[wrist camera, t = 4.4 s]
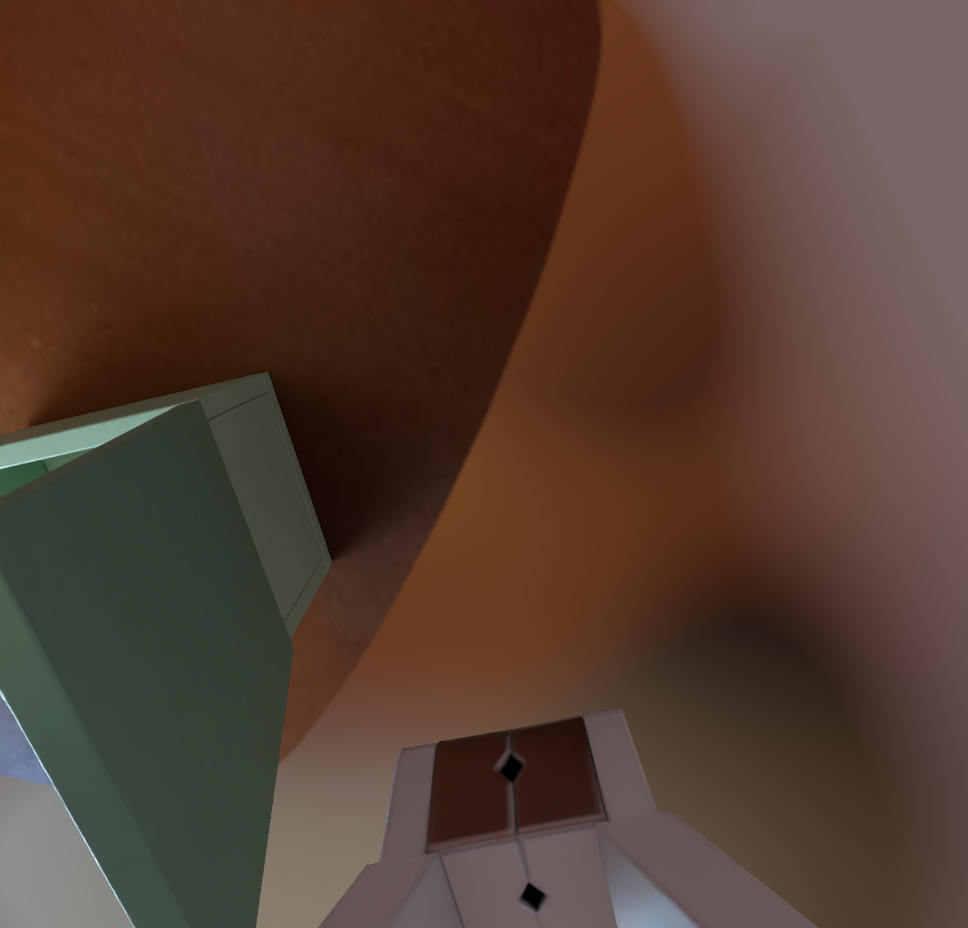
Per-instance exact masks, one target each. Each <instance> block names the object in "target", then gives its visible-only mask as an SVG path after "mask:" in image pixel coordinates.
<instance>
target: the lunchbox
mask: <svg viewBox="0 0 968 928" xmlns="http://www.w3.org/2000/svg"><path fill="white" fill-rule="evenodd" d="M195 400H200V401H201V404H202V406H203V409H204V412H205V414H206V417H207V420H208V422H209V425H210V428H211V430H212V433H213V435H214V438H215V441H216V443H217V446H218V449H219V451H220V454H221V457H222V459H223V462H224V465H225V467H226V470H227V473H228V475H229V478H230V481H231V483H232V486H233V489H234V491H235V494H236V496H237V499H238V502H239V504H240V507H241V510H242V512H243V515H244V518H245V520H246V523H247V526H248V528H249V531H250V534H251V536H252V539H253V542H254V544H255V547H256V549H257V552H258V555H259V557H260V560H261V563H262V565H263V568H264V571H265V573H266V576H267V579H268V581H269V584H270V587H271V589H272V592H273V595H274V597H275V600H276V603H277V605H278V608H279V610H280V613H281V616H282V618H283V621H284V624H285V626H286V629H287V632H288V634H289V637H290V639H291V637H292V636H293V634H294V632H295V630H296V628H297V626H298V625H299V623H300V621H301V619H302V617H303V615H304V614H305V612H306V610H307V608H308V606H309V604H310V603H311V601H312V599H313V597H314V595H315V593H316V591H317V590H318V588H319V586H320V584H321V582H322V580H323V579H324V577H325V575H326V573H327V571H328V569H329V568H330V566H331V564H332V560H331V557H330V554H329V551H328V548H327V545H326V542H325V539H324V536H323V533H322V530H321V527H320V525H319V522H318V519H317V516H316V513H315V510H314V507H313V504H312V501H311V498H310V495H309V492H308V489H307V486H306V483H305V480H304V477H303V474H302V471H301V468H300V465H299V462H298V459H297V456H296V453H295V450H294V447H293V444H292V441H291V438H290V435H289V433H288V430H287V427H286V424H285V421H284V418H283V415H282V412H281V409H280V406H279V403H278V400H277V397H276V394H275V391H274V388H273V385H272V382H271V379H270V376H269V373H268V372H263V373H258V374H254V375H250V376H246V377H241V378H237V379H233V380H228V381H224V382H220V383H216V384H211V385H207V386H203V387H199V388H194V389H190V390H186V391H182V392H177V393H173V394H169V395H164V396H160V397H156V398H152V399H147V400H143V401H139V402H135V403H130V404H126V405H122V406H117V407H113V408H109V409H105V410H100V411H96V412H92V413H88V414H83V415H79V416H75V417H70V418H66V419H62V420H58V421H53V422H49V423H45V424H41V425H36V426H32V427H28V428H24V429H21V430H17V431H15V432H11V433H8V434H4V435H1V436H0V497H2V496H4V495H6V494H8V493H10V492H12V491H14V490H15V489H17V488H19V487H21V486H23V485H25V484H27V483H29V482H31V481H33V480H35V479H37V478H39V477H41V476H43V475H44V474H46V473H48V472H50V471H52V470H54V469H56V468H58V467H60V466H62V465H64V464H66V463H68V462H70V461H71V460H73V459H75V458H77V457H79V456H81V455H83V454H85V453H87V452H89V451H91V450H93V449H95V448H97V447H98V446H100V445H102V444H104V443H106V442H108V441H110V440H112V439H114V438H116V437H118V436H120V435H122V434H124V433H125V432H127V431H129V430H131V429H133V428H135V427H137V426H139V425H141V424H143V423H145V422H147V421H149V420H151V419H152V418H154V417H156V416H158V415H160V414H162V413H164V412H166V411H168V410H170V409H172V408H174V407H176V406H178V405H179V404H183V403H187V402H191V401H195ZM0 695H1V693H0ZM1 696H2V695H1ZM2 698H3V696H2ZM3 700H4V698H3ZM4 701H5V700H4Z"/></svg>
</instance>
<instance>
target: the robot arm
mask: <svg viewBox="0 0 968 928" xmlns="http://www.w3.org/2000/svg"><path fill="white" fill-rule="evenodd" d="M318 928H818V927H816V926H815V925H814V924H813V923H811V922H810V921H809V920H808V919H806V918H805V917H804V916H802V915H801V914H800V913H799V912H797V911H796V910H795V909H794V908H792V907H791V906H790V905H789V904H787V903H786V902H785V901H784V900H782V899H781V898H780V897H779V896H777V895H776V894H775V893H774V892H772V891H771V890H770V889H769V888H767V887H766V886H765V885H764V884H762V883H761V882H760V881H758V880H757V879H756V878H755V877H753V876H752V875H751V874H750V873H748V872H747V871H746V870H745V869H743V868H742V867H741V866H740V865H738V864H737V863H736V862H734V861H733V860H732V859H731V858H730V857H728V856H727V855H726V854H724V853H723V852H722V851H721V850H719V849H718V848H717V847H716V846H714V845H713V844H712V843H711V842H709V841H708V840H707V839H706V838H704V837H703V836H702V835H701V834H699V833H698V832H697V831H695V830H694V829H693V828H692V827H690V826H689V825H688V824H687V823H685V822H684V821H683V820H682V819H680V818H679V817H678V816H677V815H675V814H674V813H673V812H672V811H670V810H668V811H662V812H657V810H656V807H655V804H654V801H653V798H652V796H651V792H650V789H649V787H648V784H647V781H646V778H645V775H644V772H643V769H642V766H641V763H640V761H639V758H638V755H637V752H636V749H635V746H634V743H633V740H632V738H631V734H630V732H629V729H628V726H627V723H626V720H625V717H624V714H623V712H622V710H621V709H620V708H619V707H616V708H611V709H607V710H602V711H597V712H592V713H588V714H583V719H582V717H581V716H577V717H572V718H567V719H562V720H557V721H552V722H547V723H542V724H537V725H532V726H527V727H522V728H517V729H512V730H506V731H500V732H495V733H488V734H483V735H477V736H470V737H464V738H458V739H453V740H446V741H440V742H439V743H433V744H427V745H421V746H415V747H409V748H403V749H402V751H401V752H400V754H399V756H398V758H397V763H396V768H395V773H394V779H393V784H392V791H391V797H390V801H389V807H388V813H387V818H386V824H385V829H384V835H383V841H382V846H381V852H380V858H379V863H375V864H370V865H366V867H365V868H364V869H363V871H362V872H361V873H360V874H359V876H358V877H357V878H356V880H355V881H354V882H353V884H352V885H351V886H350V888H349V889H348V890H347V891H346V893H345V894H344V895H343V896H342V898H341V899H340V900H339V902H338V903H337V904H336V905H335V907H334V908H333V909H332V911H331V912H330V913H329V915H328V916H327V917H326V918H325V920H324V921H323V922H322V924H321V925H320V926H319V927H318Z"/></svg>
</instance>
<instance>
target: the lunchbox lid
mask: <svg viewBox="0 0 968 928" xmlns="http://www.w3.org/2000/svg"><path fill="white" fill-rule="evenodd" d="M293 650H294V648H293V645H292V642H291V640H290V637H289V634H288V632H287V629H286V626H285V624H284V621H283V618H282V616H281V613H280V610H279V608H278V605H277V603H276V600H275V597H274V595H273V592H272V589H271V587H270V584H269V581H268V579H267V576H266V573H265V571H264V568H263V565H262V563H261V560H260V557H259V555H258V552H257V549H256V547H255V544H254V542H253V539H252V536H251V534H250V531H249V528H248V526H247V523H246V520H245V518H244V515H243V512H242V510H241V507H240V504H239V502H238V499H237V496H236V494H235V491H234V489H233V486H232V483H231V481H230V478H229V475H228V473H227V470H226V467H225V465H224V462H223V459H222V457H221V454H220V451H219V449H218V446H217V443H216V441H215V438H214V435H213V433H212V430H211V428H210V425H209V422H208V420H207V417H206V414H205V412H204V409H203V406H202V404H201V401H200V400H195V401H191V402H187V403H183V404H179V405H178V406H176V407H174V408H172V409H170V410H168V411H166V412H164V413H162V414H160V415H158V416H156V417H154V418H152V419H151V420H149V421H147V422H145V423H143V424H141V425H139V426H137V427H135V428H133V429H131V430H129V431H127V432H125V433H124V434H122V435H120V436H118V437H116V438H114V439H112V440H110V441H108V442H106V443H104V444H102V445H100V446H98V447H97V448H95V449H93V450H91V451H89V452H87V453H85V454H83V455H81V456H79V457H77V458H75V459H73V460H71V461H70V462H68V463H66V464H64V465H62V466H60V467H58V468H56V469H54V470H52V471H50V472H48V473H46V474H44V475H43V476H41V477H39V478H37V479H35V480H33V481H31V482H29V483H27V484H25V485H23V486H21V487H19V488H17V489H15V490H14V491H12V492H10V493H8V494H6V495H4V496H2V497H0V693H1V695H2V696H3V698H4V700H5V702H6V703H7V705H8V707H9V709H10V710H11V712H12V714H13V716H14V718H15V719H16V721H17V723H18V725H19V726H20V728H21V730H22V732H23V733H24V735H25V737H26V739H27V740H28V742H29V744H30V746H31V748H32V749H33V751H34V753H35V755H36V756H37V758H38V760H39V762H40V763H41V765H42V767H43V769H44V770H45V772H46V774H47V776H48V778H49V779H50V781H51V783H52V785H53V786H54V788H55V790H56V792H57V793H58V795H59V797H60V799H61V800H62V802H63V804H64V806H65V807H66V809H67V811H68V813H69V815H70V816H71V818H72V820H73V822H74V823H75V825H76V827H77V829H78V830H79V832H80V834H81V836H82V837H83V839H84V841H85V843H86V845H87V846H88V848H89V850H90V851H91V853H92V855H93V857H94V858H95V860H96V862H97V864H98V866H99V867H100V869H101V871H102V873H103V874H104V876H105V878H106V880H107V882H108V883H109V885H110V887H111V889H112V890H113V892H114V894H115V895H116V897H117V899H118V901H119V903H120V905H121V906H122V908H123V910H124V912H125V913H126V915H127V917H128V918H129V920H130V922H131V924H132V925H133V927H134V928H256V922H257V915H258V907H259V900H260V893H261V885H262V878H263V871H264V863H265V856H266V849H267V841H268V834H269V826H270V819H271V811H272V804H273V797H274V789H275V782H276V774H277V768H278V760H279V753H280V745H281V738H282V731H283V723H284V716H285V709H286V701H287V694H288V686H289V679H290V672H291V664H292V657H293Z"/></svg>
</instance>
